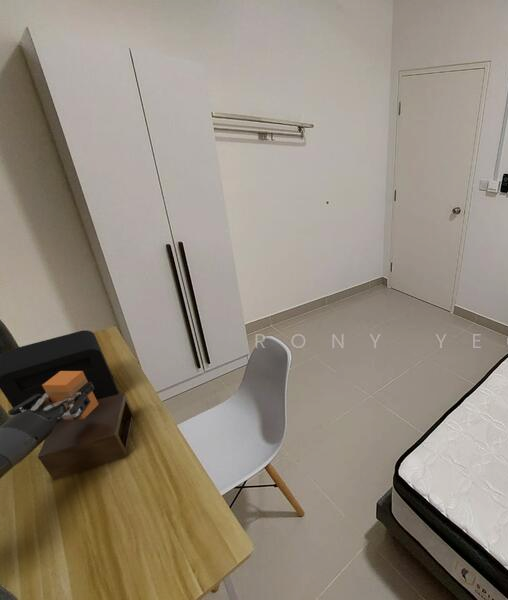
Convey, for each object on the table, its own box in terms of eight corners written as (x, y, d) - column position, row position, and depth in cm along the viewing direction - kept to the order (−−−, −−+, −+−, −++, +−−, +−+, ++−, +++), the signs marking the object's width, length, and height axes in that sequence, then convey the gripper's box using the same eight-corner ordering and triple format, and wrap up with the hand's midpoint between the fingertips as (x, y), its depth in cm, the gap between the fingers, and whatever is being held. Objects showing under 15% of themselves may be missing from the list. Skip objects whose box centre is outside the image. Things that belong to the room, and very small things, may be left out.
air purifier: (113, 374, 111) (91, 325, 102) (121, 397, 103) (99, 346, 94) (28, 404, 98) (-6, 350, 89) (29, 433, 90) (-8, 377, 80)
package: (83, 419, 80) (65, 385, 75) (61, 419, 80) (41, 385, 75) (98, 404, 85) (82, 370, 80) (77, 404, 84) (60, 370, 79)
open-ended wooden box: (54, 481, 79) (37, 456, 75) (72, 432, 91) (58, 408, 87) (126, 458, 85) (115, 434, 81) (134, 415, 97) (124, 392, 93)
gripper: (-17, 454, 68) (54, 396, 83) (58, 453, 69) (115, 395, 84) (-37, 429, 64) (41, 372, 79) (43, 428, 65) (105, 372, 81)
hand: (79, 384), depth 81 cm, fingers closed on package, 5 cm apart
